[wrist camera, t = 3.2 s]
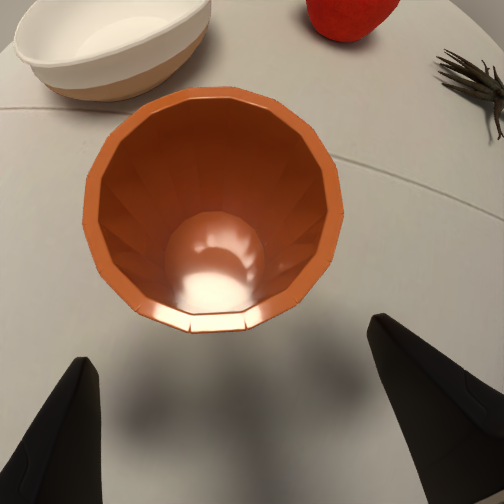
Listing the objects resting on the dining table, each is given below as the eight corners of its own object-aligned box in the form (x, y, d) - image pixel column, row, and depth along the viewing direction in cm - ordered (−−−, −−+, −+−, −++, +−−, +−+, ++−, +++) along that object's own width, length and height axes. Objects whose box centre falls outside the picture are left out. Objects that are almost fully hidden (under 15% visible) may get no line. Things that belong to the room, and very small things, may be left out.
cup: (292, 257, 21) (385, 191, 9) (219, 341, 20) (222, 390, 7) (211, 187, 21) (210, 54, 9) (137, 265, 20) (40, 205, 8)
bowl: (154, -7, 25) (148, -61, 17) (252, 58, 24) (264, -12, 16) (28, 72, 22) (-3, 22, 14) (93, 166, 21) (48, 107, 13)
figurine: (438, 17, 24) (542, 83, 23) (423, 46, 30) (522, 103, 29) (451, 89, 22) (566, 167, 20) (427, 121, 27) (537, 184, 26)
